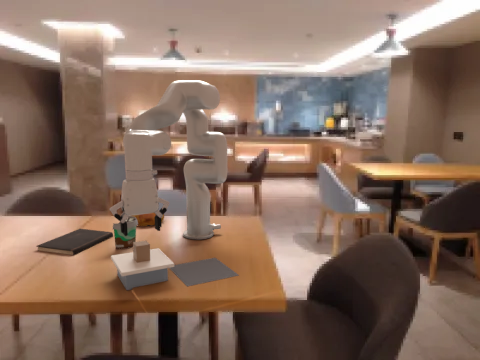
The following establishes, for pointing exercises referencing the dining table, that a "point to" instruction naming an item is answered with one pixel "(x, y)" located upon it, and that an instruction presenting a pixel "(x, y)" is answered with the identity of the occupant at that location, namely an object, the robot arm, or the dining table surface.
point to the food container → (120, 238)
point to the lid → (141, 260)
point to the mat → (202, 271)
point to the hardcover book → (75, 241)
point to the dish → (143, 278)
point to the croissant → (146, 219)
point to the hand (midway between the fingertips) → (141, 232)
